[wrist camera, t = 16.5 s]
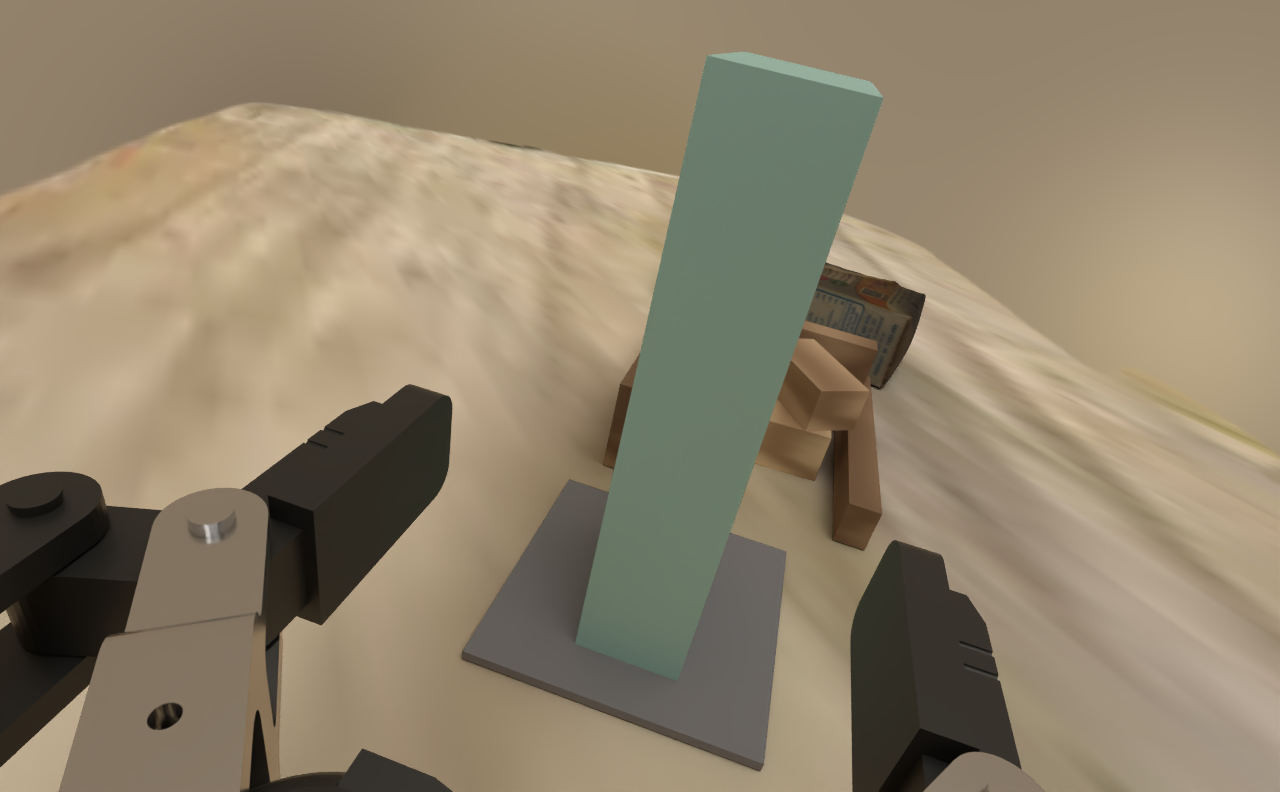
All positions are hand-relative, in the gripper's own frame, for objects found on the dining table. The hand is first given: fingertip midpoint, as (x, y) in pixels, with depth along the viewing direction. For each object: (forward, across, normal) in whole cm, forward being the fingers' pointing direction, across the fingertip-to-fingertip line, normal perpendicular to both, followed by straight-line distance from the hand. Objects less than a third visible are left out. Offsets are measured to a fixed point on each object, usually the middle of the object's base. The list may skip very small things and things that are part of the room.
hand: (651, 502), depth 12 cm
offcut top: (+27, -5, +11) cm, 30 cm away
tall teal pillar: (+11, 0, +13) cm, 17 cm away
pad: (+11, 0, +14) cm, 18 cm away
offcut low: (+27, -5, +14) cm, 31 cm away
